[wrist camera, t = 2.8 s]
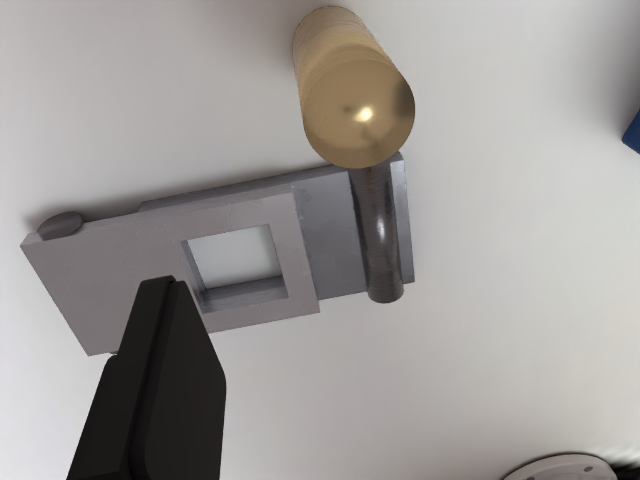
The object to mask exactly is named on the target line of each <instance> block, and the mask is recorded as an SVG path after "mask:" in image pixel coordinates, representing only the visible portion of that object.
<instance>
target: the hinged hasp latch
mask: <svg viewBox="0 0 640 480" xmlns="http://www.w3.org/2000/svg"><path fill="white" fill-rule="evenodd" d="M266 224H269V227H270V231H271V234H272V238H273V241H274V245H275V249H276V252H277V256H278V260H279V263H280V267H281V270H282V274H283V275H282V276H277V277H272V278H266V279H261V280H256V281H251V282H246V283H240V284H235V285H230V286H225V287H220V288H214V289H209V290H206V289H205V286H204V284H203V281H202V278H201V276H200V273H199V271H198V268H197V266H196V263H195V261H194V258H193V255H192V253H191V250H190V248H189V245H188V243H187V240H189V239H194V238H199V237H204V236H209V235H215V234H220V233H225V232H230V231H235V230H240V229H245V228H251V227H256V226H261V225H266ZM20 247H21V249H22V251H23V252H24V254H25V255H26V257H27V259H28V260H29V262H30V263H31V265H32V267H33V268H34V270H35V272H36V273H37V275H38V276H39V278H40V280H41V281H42V283H43V284H44V286H45V288H46V289H47V291H48V292H49V294H50V296H51V297H52V299H53V301H54V302H55V304H56V305H57V307H58V309H59V310H60V312H61V313H62V315H63V317H64V318H65V320H66V321H67V323H68V325H69V326H70V328H71V330H72V331H73V333H74V334H75V336H76V338H77V339H78V341H79V342H80V344H81V346H82V347H83V349H84V350H85V352H86V354H87V355H88V356H92V355H98V354H103V353H108V352H109V353H111V354H117V353H118V350H119V347H120V344H121V341H122V338H123V334H124V331H125V328H126V325H127V322H128V319H129V316H130V313H131V309H132V306H133V303H134V300H135V297H136V294H137V291H138V288H139V285H140V283H141V281H143V280H147V279H152V278H158V277H163V276H168V275H172V276H174V278H175V279H176V281H182V280H183V281H185V282H186V284H187V286H188V288H189V290H190V293H191V295H192V297H193V300H194V302H195V305H196V307H197V309H198V312H199V314H200V316H201V319H202V321H203V324H204V326H205V328H206V331H207V333H208V334H209V333H214V332H219V331H224V330H230V329H235V328H240V327H246V326H251V325H256V324H261V323H267V322H272V321H277V320H283V319H288V318H293V317H298V316H304V315H309V314H314V313H320V307H319V300H323V299H328V298H333V297H339V296H344V295H349V294H355V293H360V292H365V291H367V292H368V296H369V298H370V299H371V300H373V301H375V302H377V303H391V302H394V301H396V300H398V299H399V298H400V297H401V296H402V295H403V292H404V288H403V284H407V283H412V282H415V278H414V267H413V256H412V245H411V234H410V223H409V212H408V201H407V190H406V179H405V168H404V160H403V158H402V156H401V154H400V152H396V153H395V154H393V155H392V156H391V157H389V158H388V159H386V160H385V161H383V162H381V163H379V164H376V165H374V166H370V167H366V168H345V167H340V166H337V165H334V164H333V165H328V166H323V167H318V168H313V169H308V170H303V171H298V172H293V173H288V174H283V175H278V176H272V177H267V178H262V179H257V180H252V181H247V182H242V183H237V184H232V185H227V186H222V187H217V188H212V189H207V190H201V191H196V192H191V193H186V194H181V195H176V196H171V197H166V198H161V199H156V200H151V201H146V202H142V203H141V205H140V207H139V210H138V212H137V213H133V214H128V215H123V216H118V217H113V218H107V219H102V220H97V221H92V222H87V223H84V222H83V220H82V218H81V216H80V214H79V213H77V212H66V213H62V214H59V215H56V216H54V217H52V218H50V219H48V220H46V221H45V222H44V223H42V224H41V225H40V226H39V228H38V230H37V232H36V233H31V234H28V235H27V236H26V238H25V239H24V240H23V242H22V243H21V245H20Z"/></svg>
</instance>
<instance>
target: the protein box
mask: <svg viewBox="0 0 640 480" xmlns="http://www.w3.org/2000/svg"><path fill="white" fill-rule="evenodd" d="M622 141H623V143H624V144H626V145H627V146H629V147H630V148H631V149H633V150H634V151H636V152H637V153H639V154H640V110H639V112H638V113H637V115H636V116H635V118H634V120H633V121H632V123H631V125H630V126H629V128H628V129H627V131H626V133H625V135H624V136H623V139H622Z"/></svg>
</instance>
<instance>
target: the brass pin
mask: <svg viewBox="0 0 640 480" xmlns="http://www.w3.org/2000/svg"><path fill="white" fill-rule="evenodd" d="M292 52H293V59H294V66H295V72H296V79H297V85H298V92H299V98H300V105H301V111H302V118H303V124H304V130H305V133H306V136H307V139H308V141H309V143H310V144H311V146H312V147H313V149H314V150H315V151H316V152H317V153H318V154H319V155H320V156H321V157H322V158H324V159H325V160H327V161H328V162H330V163H332V164H334V165H337V166H340V167H345V168H366V167H370V166H374V165H376V164H379V163H381V162H383V161H385V160H386V159H388V158H389V157H391V156H392V155H393V154H395V153H396V152H397V151H398V150H399V149H400V148H401V147H402V145H403V144H404V143H405V141H406V140H407V138H408V136H409V134H410V132H411V129H412V127H413V123H414V118H415V102H414V97H413V94H412V91H411V89H410V86H409V85H408V83H407V82H406V80H405V79H404V77H403V76H402V75H401V73H400V72H399V71H398V69H397V68H396V67H395V65H394V64H393V63H392V61H391V60H390V59H389V57H388V56H387V55H386V53H385V52H384V51H383V49H382V48H381V47H380V45H379V44H378V43H377V41H376V40H375V38H374V37H373V36H372V34H371V33H370V32H369V30H368V29H367V28H366V26H365V25H364V24H363V22H362V21H361V20H360V19H359V18H358V17H357V16H356V15H355V14H354V13H352V12H351V11H349V10H347V9H345V8H341V7H336V6H328V7H323V8H319V9H317V10H315V11H313V12H311V13H310V14H309V15H307V16H306V17H305V18H304V19H303V20H302V21H301V23H300V24H299V26H298V27H297V29H296V32H295V34H294V38H293V44H292Z"/></svg>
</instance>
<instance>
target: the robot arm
mask: <svg viewBox="0 0 640 480" xmlns="http://www.w3.org/2000/svg"><path fill="white" fill-rule="evenodd" d="M225 402H226V379H225V374H224V371H223V369H222V366H221V364H220V362H219V359H218V357H217V355H216V352H215V350H214V347H213V345H212V343H211V340H210V338H209V336H208V333H207V331H206V328H205V326H204V324H203V321H202V319H201V316H200V314H199V312H198V309H197V307H196V305H195V302H194V300H193V297H192V295H191V293H190V290H189V288H188V286H187V284H186V282H185V281H183V280H182V281H176V279H175V278H174V276H172V275H168V276H163V277H158V278H152V279H147V280H143V281H141V283H140V285H139V288H138V291H137V294H136V297H135V300H134V303H133V306H132V309H131V313H130V316H129V319H128V322H127V325H126V328H125V331H124V334H123V338H122V341H121V344H120V347H119V350H118V353H117V355H113V356H111V357H110V358H109V359H108V360H107V362H106V364H105V366H104V369H103V372H102V375H101V378H100V381H99V384H98V387H97V390H96V393H95V396H94V399H93V402H92V405H91V408H90V411H89V414H88V417H87V420H86V423H85V425H84V428H83V431H82V434H81V437H80V440H79V443H78V446H77V449H76V452H75V455H74V458H73V461H72V464H71V467H70V470H69V473H68V476H67V479H66V480H219V478H220V466H221V453H222V440H223V427H224V414H225ZM504 480H618V479H617V477H616V475H615V473H614V472H613V470H612V469H611V467H610V465H609V464H607V463H606V462H605V461H603V460H601V459H599V458H596V457H593V456H588V455H578V454H570V455H560V456H554V457H549V458H545V459H542V460H538V461H536V462H533V463H531V464H528V465H526V466H524V467H522V468H520V469H518V470H516V471H514V472H513V473H511V474H510V475H509V476H507V477H506V478H505V479H504Z"/></svg>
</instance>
